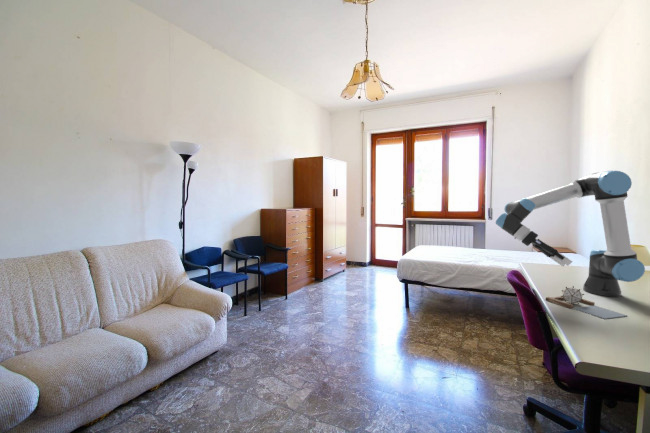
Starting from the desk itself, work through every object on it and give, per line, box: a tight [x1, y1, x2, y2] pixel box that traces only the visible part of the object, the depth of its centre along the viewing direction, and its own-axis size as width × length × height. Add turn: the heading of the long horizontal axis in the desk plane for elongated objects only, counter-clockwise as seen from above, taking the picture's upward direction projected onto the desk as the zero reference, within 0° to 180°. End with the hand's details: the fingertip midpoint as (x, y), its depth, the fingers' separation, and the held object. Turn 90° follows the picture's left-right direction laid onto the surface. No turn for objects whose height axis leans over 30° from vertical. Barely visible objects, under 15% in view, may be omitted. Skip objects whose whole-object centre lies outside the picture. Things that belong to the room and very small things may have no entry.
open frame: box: [545, 295, 595, 309], centre depth 145 cm, size 16×11×2 cm
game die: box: [560, 285, 585, 305], centre depth 143 cm, size 9×8×10 cm
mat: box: [573, 305, 628, 320], centre depth 133 cm, size 14×12×1 cm
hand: (567, 264), depth 146 cm, fingers open, 13 cm apart
